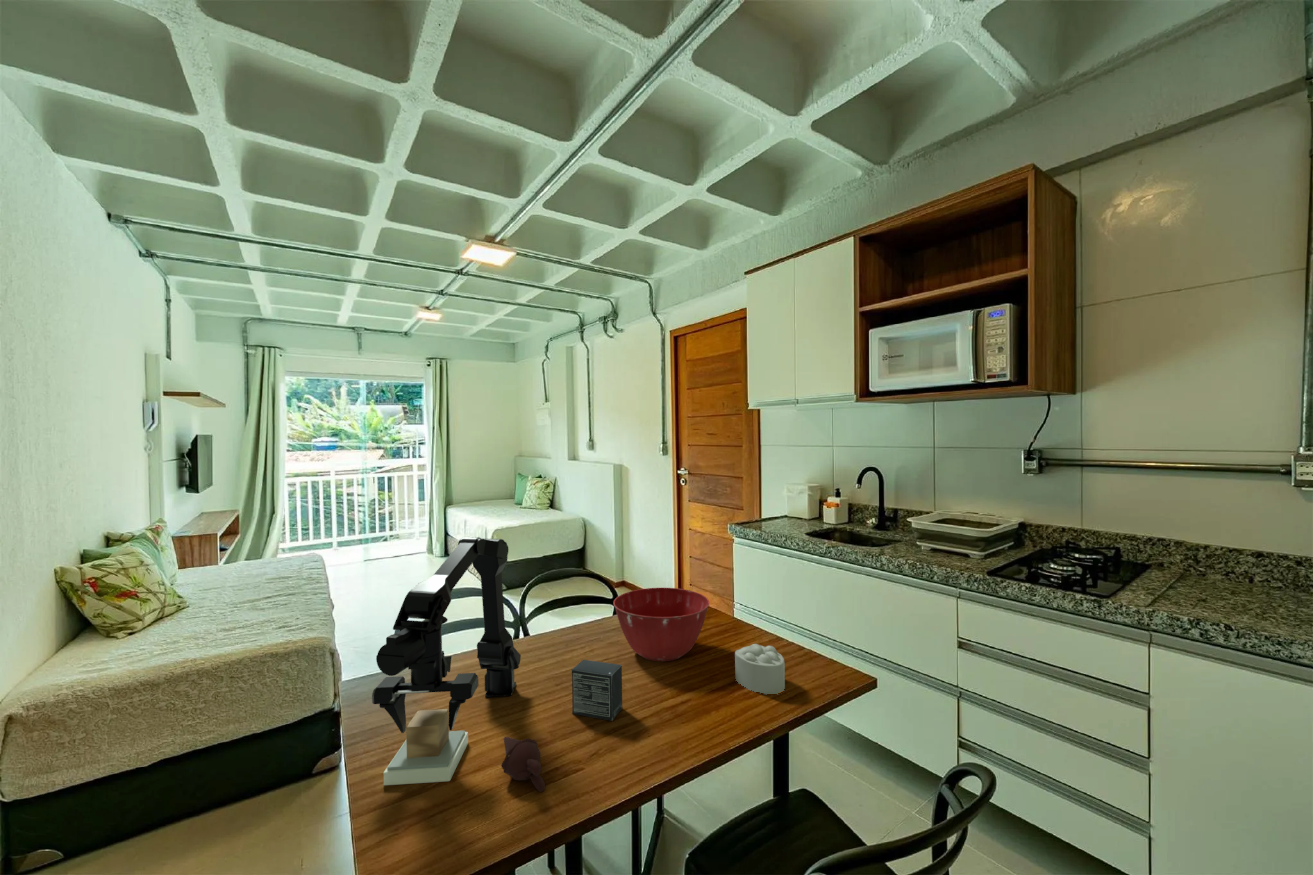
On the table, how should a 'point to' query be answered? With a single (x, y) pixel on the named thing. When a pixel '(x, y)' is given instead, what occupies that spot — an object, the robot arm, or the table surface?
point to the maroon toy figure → (523, 761)
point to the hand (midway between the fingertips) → (427, 730)
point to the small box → (597, 689)
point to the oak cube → (427, 733)
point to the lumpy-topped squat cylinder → (760, 669)
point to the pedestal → (427, 763)
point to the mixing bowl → (661, 621)
